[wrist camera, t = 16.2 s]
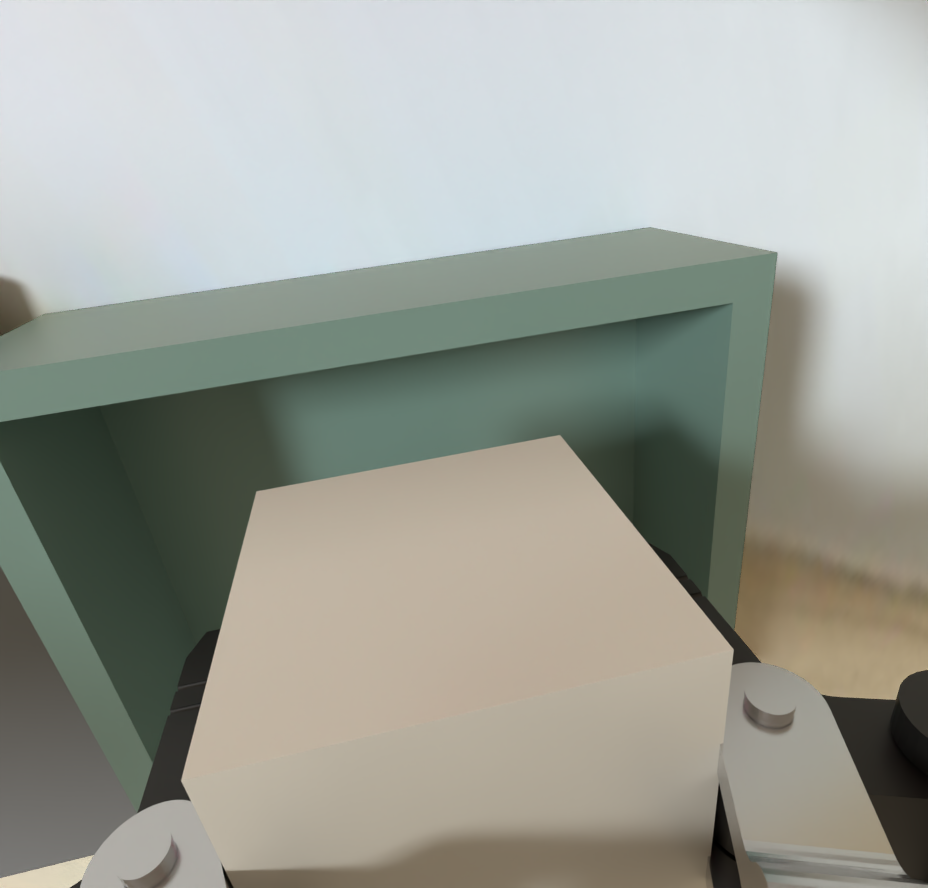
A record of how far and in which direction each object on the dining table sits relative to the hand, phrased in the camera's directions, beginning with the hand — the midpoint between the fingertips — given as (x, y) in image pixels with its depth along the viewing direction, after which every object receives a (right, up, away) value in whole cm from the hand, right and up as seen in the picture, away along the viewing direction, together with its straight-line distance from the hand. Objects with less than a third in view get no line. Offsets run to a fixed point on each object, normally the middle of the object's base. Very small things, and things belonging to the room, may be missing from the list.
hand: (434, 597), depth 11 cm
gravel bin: (-1, 0, +7) cm, 7 cm away
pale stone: (0, 0, 0) cm, 0 cm away
